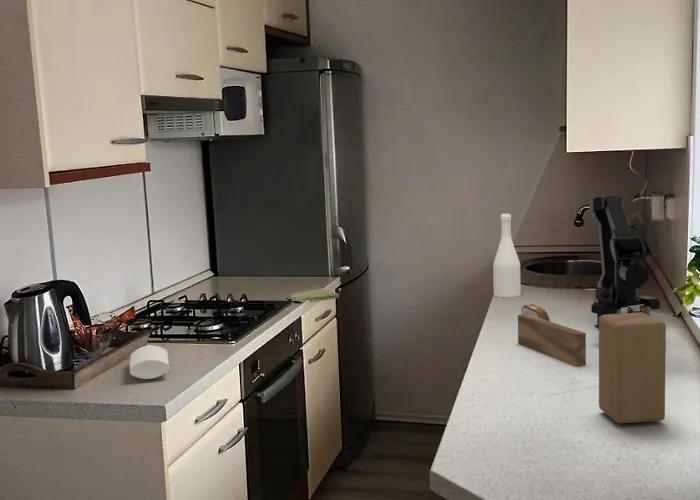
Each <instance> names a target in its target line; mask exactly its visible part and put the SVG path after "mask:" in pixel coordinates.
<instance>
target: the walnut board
mask: <svg viewBox="0 0 700 500" xmlns="http://www.w3.org/2000/svg"><path fill="white" fill-rule="evenodd" d="M586 335H587V333H586V332H584V331H581V330H577V329H575V328H571V327H568V326H566V325H562V324H560V323H558V322H557V323H556V322H553V321H551V320H550V321H547V320H544V319H541V318H538V317H535V316H532V315H529V314H522V313H521V314H518V315H517V344H519V345H521V346H523V347H527V348H529V349H532V350H534V351H537V352H538V353H541V354H544V355H546V356H549V357H551V358H554V359H557V360H559V361H562V362H564V363H567V364H569V365H571V366H574V367H578V366H579V367H580V366H585V365H587V358H586V357H587V354H586V353H587V345H586V344H587V336H586Z"/></svg>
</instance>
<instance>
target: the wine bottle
mask: <svg viewBox="0 0 700 500" xmlns="http://www.w3.org/2000/svg"><path fill="white" fill-rule="evenodd" d="M500 220H501V227H500V228H501V237H500V241H499V244H498V248H497V250H496V254H495V257H494V260H493V265H492V271H493V272H492V273H493V277H492V278H493V281H492V282H493V296H494V297H495V296H497V297H496V298H500V297H505V298H504V299H511V298H510V297H514V298H519V297H520V296H521V291H522V290H521V285H522V284H521V262H520V259H519V256H518V253H517V251H516V248H515V245H514V242H513V238H512V226H511V225H512V223H511V221H512V215H511V213H501V215H500ZM518 296H519V297H518ZM507 297H508V298H507Z"/></svg>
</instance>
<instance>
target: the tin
mask: <svg viewBox="0 0 700 500" xmlns="http://www.w3.org/2000/svg"><path fill="white" fill-rule="evenodd" d="M520 313H521V315H522V314H529V315H532V316H535V317H538V318H541V319H544V320H547V321H550V322H551V320H550V317H549V314H548V312H547V311H546V309H545V308H542V307H540V306H538V305H536V304H534V303H531V304H530V303H529V304H524V305H523V306H522V307H521V312H520Z"/></svg>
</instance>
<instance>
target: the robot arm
mask: <svg viewBox="0 0 700 500" xmlns="http://www.w3.org/2000/svg"><path fill="white" fill-rule="evenodd" d="M588 210H589V212H590V213H591V219H592V220H593V222H594V223H595V225H596V226H597V227H598V236H599V239H598V240H599V251H600V263H601V272H602V273H601V274H602V275H601V277H600V278H599V280H598V282H597V287H596V288H595V294H594V296H593V303H592V304H591V307H590V309H591V311H590V312H591V313H592V314H596V315H597V316H596V317H597V318H596V319H597V320H596V321H597V323H596V324H594V327H595V328H598V329H599V317H600V316H602V315H606V314H623V313H640V312H642V311H640V307H645V306H648V308H649V310H651V311H652V310H654V311H655V310H659V309H661V301H660V300H659V298H657V297H653V296H650V295H643V296H642V295H639V296H640V297H637V295H638V289H642V288H641V286H643V285H645V283H646V282H647V281H648V279H649V272H648V270H647V268H646V267H644V265H642V264H641V261H646V257H647V251H646V248H645V244H644V241H643V240H642V238H641V237H640V235H639V233H638V231H637V230H636V229H635V228H633V227H632V226H630V223H629V220H628V217H627V215H626V213H625V209H624V207H623V199H622V196H621V195H619V194H610V195H609V194H607V195H606V194H605V195H600V196H598V195H597V196H593V197H592V199H590V200H589V202H588ZM642 313H643V312H642Z"/></svg>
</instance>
